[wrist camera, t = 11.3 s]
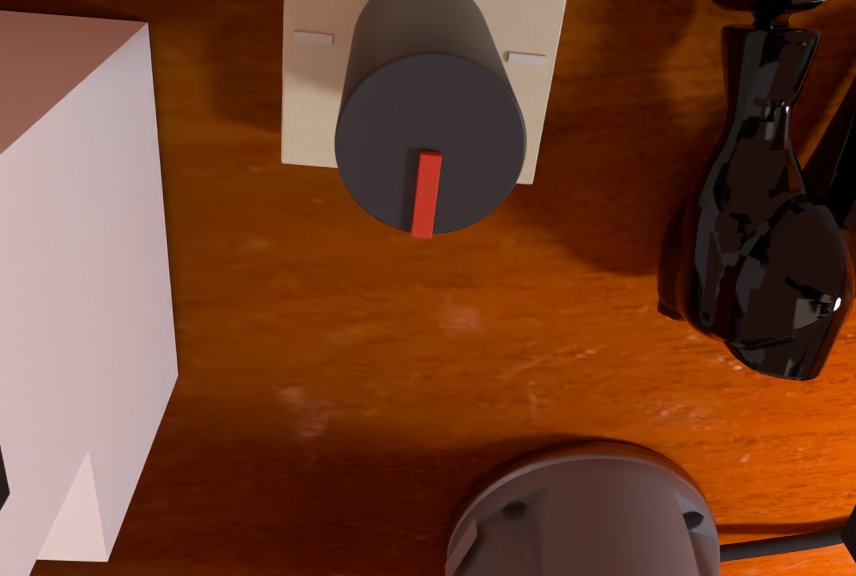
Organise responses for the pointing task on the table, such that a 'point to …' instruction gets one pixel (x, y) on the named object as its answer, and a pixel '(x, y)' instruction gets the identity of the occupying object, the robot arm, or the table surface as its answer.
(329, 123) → the dial panel
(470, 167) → the dial
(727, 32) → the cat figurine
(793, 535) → the robot arm
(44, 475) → the stepped bracket block
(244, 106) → the table surface
